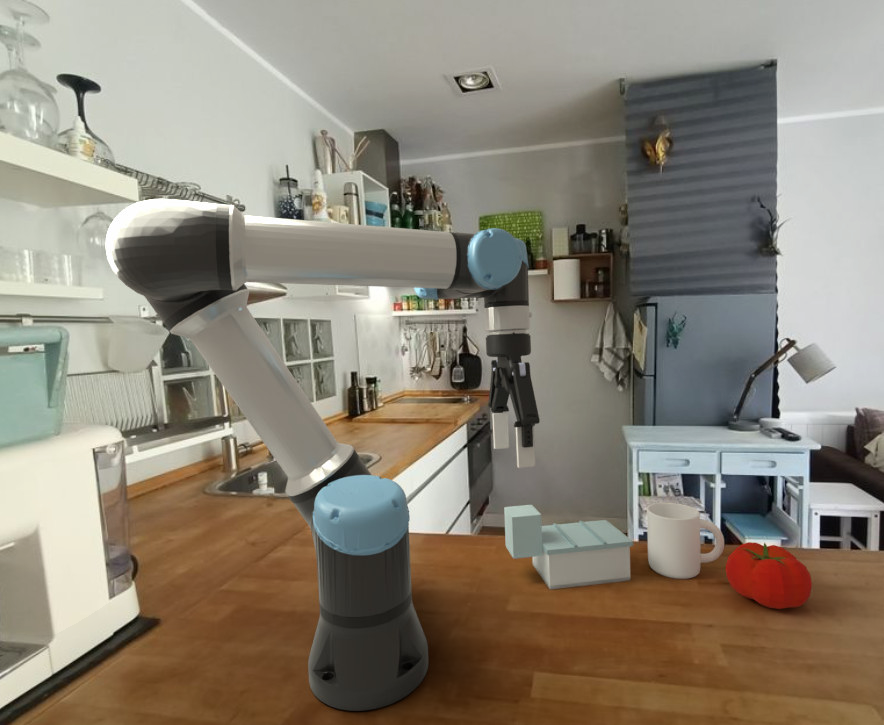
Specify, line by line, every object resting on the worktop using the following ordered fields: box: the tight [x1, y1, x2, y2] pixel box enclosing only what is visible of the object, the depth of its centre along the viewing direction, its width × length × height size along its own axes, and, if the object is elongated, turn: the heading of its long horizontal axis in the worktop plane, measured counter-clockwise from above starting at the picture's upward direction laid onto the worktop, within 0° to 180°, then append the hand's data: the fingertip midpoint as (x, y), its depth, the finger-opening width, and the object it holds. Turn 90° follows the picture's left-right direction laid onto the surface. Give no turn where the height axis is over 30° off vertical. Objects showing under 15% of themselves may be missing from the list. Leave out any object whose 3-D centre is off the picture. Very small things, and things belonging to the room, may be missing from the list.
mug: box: [646, 502, 725, 580], centre depth 84 cm, size 12×8×10 cm
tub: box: [531, 546, 631, 590], centre depth 85 cm, size 9×14×6 cm, turn 98°
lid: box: [503, 504, 634, 559], centre depth 84 cm, size 10×20×7 cm, turn 98°
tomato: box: [725, 542, 813, 610], centre depth 74 cm, size 11×11×8 cm
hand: (512, 456), depth 84 cm, fingers open, 13 cm apart
